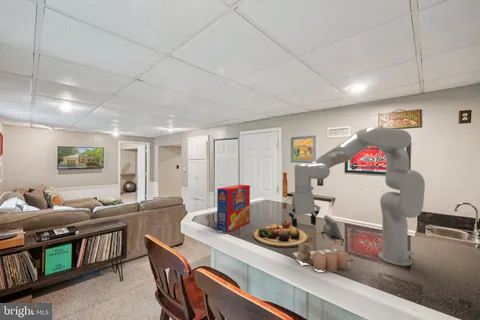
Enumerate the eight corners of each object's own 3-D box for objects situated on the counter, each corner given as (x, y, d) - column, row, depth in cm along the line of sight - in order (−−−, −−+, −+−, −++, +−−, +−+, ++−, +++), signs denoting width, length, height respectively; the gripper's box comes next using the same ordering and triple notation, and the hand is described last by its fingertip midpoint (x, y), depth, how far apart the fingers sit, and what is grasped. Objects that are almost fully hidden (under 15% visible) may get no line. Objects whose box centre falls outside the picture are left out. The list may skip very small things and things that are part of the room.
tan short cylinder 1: (321, 266, 92) (321, 252, 92) (328, 272, 87) (328, 257, 87) (310, 267, 91) (310, 253, 91) (317, 273, 86) (317, 258, 86)
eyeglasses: (345, 246, 114) (345, 238, 114) (328, 252, 107) (328, 244, 107) (322, 237, 127) (322, 231, 127) (306, 242, 119) (306, 235, 119)
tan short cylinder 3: (342, 263, 94) (342, 249, 94) (350, 268, 90) (350, 254, 90) (332, 264, 93) (332, 250, 93) (340, 269, 88) (340, 255, 89)
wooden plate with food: (274, 225, 149) (274, 214, 149) (317, 237, 126) (317, 223, 126) (242, 238, 126) (242, 224, 126) (288, 255, 104) (288, 238, 104)
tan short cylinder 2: (331, 265, 92) (332, 251, 92) (339, 271, 87) (339, 257, 87) (321, 266, 91) (321, 252, 91) (329, 272, 86) (329, 258, 86)
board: (335, 249, 109) (335, 247, 109) (353, 260, 97) (353, 258, 97) (289, 254, 103) (289, 252, 103) (301, 266, 91) (301, 263, 91)
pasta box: (227, 234, 131) (227, 189, 131) (217, 231, 135) (217, 188, 136) (249, 223, 154) (249, 185, 155) (240, 221, 159) (240, 184, 159)
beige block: (305, 255, 100) (306, 242, 100) (310, 258, 96) (310, 245, 96) (298, 255, 99) (298, 243, 99) (302, 259, 95) (302, 246, 95)
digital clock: (342, 240, 122) (342, 222, 122) (326, 238, 124) (326, 220, 124) (336, 231, 138) (336, 215, 138) (322, 230, 140) (322, 214, 140)
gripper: (315, 187, 105) (315, 221, 105) (282, 189, 102) (283, 224, 101) (323, 189, 98) (325, 226, 98) (289, 191, 94) (290, 229, 94)
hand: (304, 225), depth 100 cm, fingers open, 9 cm apart
